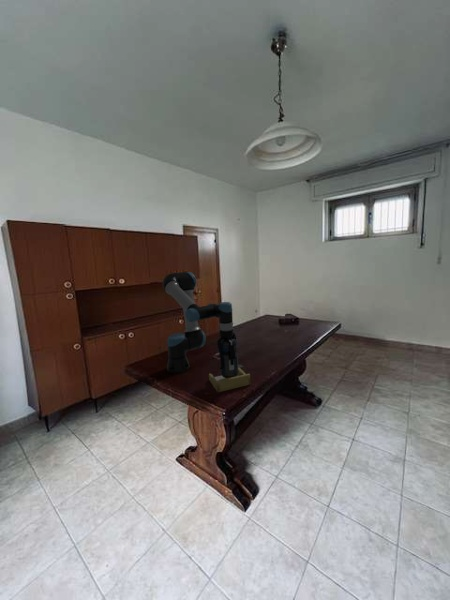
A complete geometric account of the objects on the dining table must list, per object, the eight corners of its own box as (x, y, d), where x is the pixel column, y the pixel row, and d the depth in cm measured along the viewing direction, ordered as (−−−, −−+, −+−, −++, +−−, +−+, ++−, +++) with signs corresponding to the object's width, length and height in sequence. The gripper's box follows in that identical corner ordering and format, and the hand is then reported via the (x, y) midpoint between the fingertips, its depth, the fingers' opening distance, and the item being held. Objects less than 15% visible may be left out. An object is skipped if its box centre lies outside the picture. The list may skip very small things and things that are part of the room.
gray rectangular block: (236, 373, 158) (235, 368, 157) (232, 370, 161) (232, 366, 161) (243, 370, 160) (243, 366, 160) (240, 368, 164) (240, 364, 163)
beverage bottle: (214, 377, 145) (212, 336, 141) (231, 369, 154) (229, 331, 150) (226, 383, 138) (223, 340, 134) (242, 375, 146) (241, 334, 142)
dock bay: (217, 392, 135) (217, 382, 134) (209, 380, 150) (208, 370, 149) (250, 384, 142) (250, 374, 141) (239, 373, 157) (239, 364, 156)
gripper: (240, 333, 132) (242, 372, 136) (225, 324, 153) (227, 358, 157) (227, 335, 130) (229, 375, 133) (213, 325, 151) (215, 360, 154)
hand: (228, 366), depth 145 cm, fingers closed on beverage bottle, 10 cm apart
